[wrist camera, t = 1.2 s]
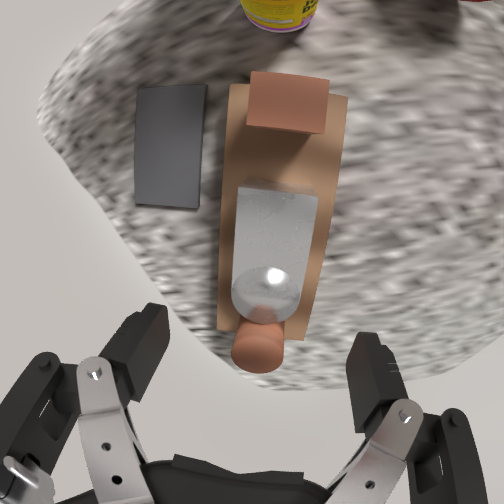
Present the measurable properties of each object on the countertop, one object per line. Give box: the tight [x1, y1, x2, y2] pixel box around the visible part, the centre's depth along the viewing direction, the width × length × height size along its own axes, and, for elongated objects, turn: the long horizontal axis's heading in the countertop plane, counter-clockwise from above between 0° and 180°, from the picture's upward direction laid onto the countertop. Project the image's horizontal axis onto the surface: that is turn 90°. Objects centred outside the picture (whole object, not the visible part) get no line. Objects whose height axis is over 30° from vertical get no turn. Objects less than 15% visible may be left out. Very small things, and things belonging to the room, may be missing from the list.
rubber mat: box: [134, 84, 207, 209], centre depth 24 cm, size 12×7×1 cm, turn 175°
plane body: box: [217, 71, 348, 373], centre depth 21 cm, size 23×9×11 cm, turn 175°
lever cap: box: [231, 178, 319, 324], centre depth 21 cm, size 11×5×4 cm, turn 175°
